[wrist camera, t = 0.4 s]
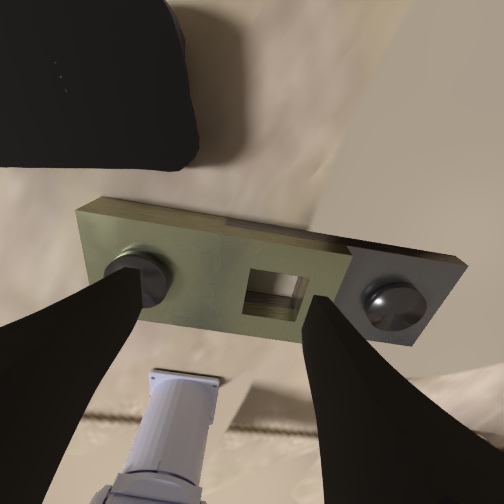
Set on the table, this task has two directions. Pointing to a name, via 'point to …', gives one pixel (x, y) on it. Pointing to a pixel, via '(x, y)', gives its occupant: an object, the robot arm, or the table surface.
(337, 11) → the table surface
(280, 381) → the table surface
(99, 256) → the green peg socket base
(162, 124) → the black sponge
